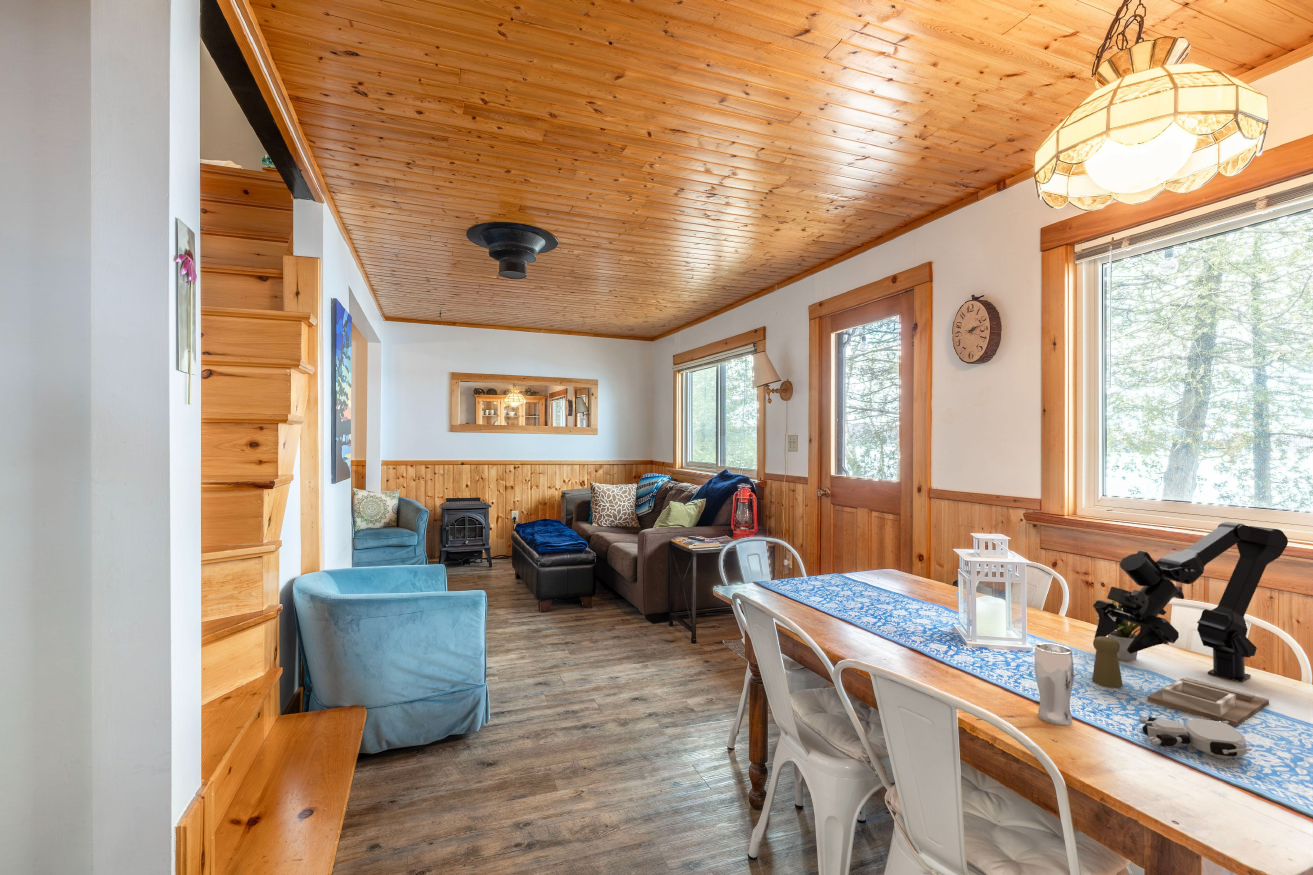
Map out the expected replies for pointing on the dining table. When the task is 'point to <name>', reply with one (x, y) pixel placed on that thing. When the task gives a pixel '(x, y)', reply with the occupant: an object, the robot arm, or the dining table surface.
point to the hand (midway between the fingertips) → (1111, 645)
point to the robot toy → (1197, 736)
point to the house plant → (1124, 638)
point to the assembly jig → (1209, 700)
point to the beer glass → (1054, 682)
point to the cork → (1107, 663)
